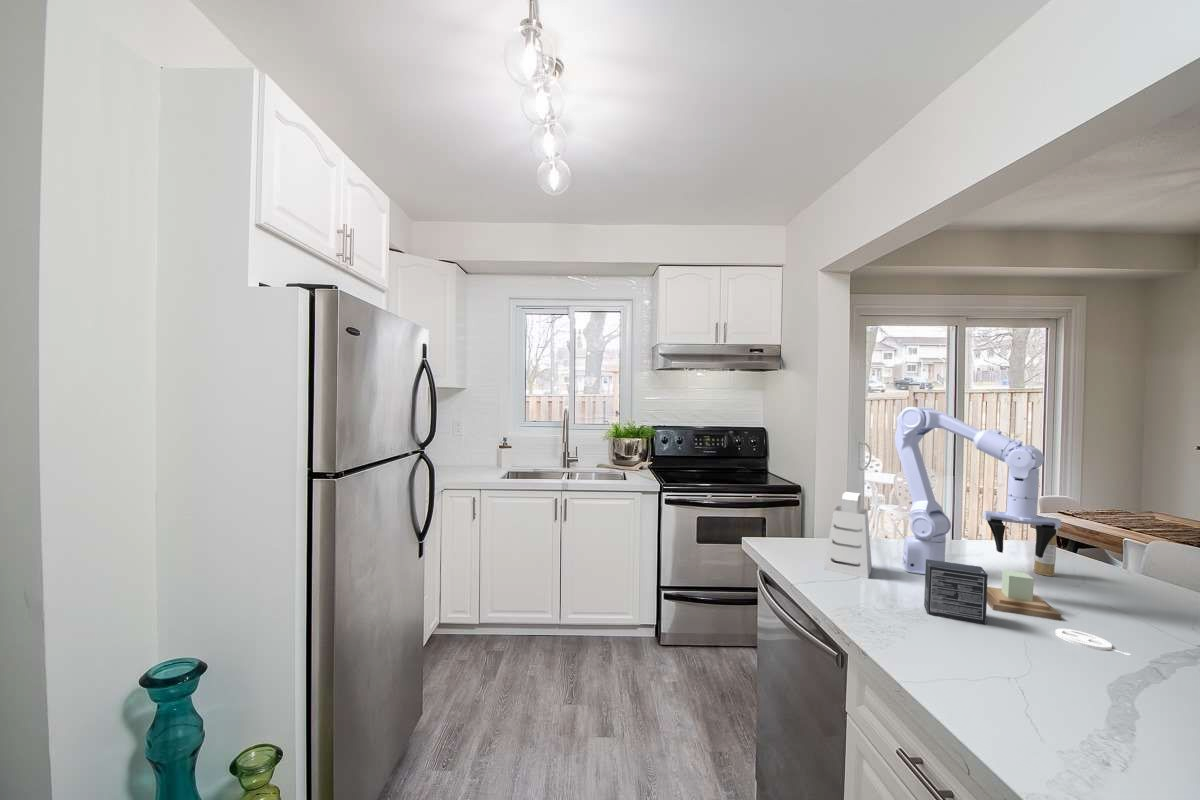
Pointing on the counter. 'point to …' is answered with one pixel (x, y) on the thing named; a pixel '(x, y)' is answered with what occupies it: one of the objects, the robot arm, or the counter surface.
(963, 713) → the counter surface
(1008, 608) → the walnut base
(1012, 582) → the sage block
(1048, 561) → the sprinkles bottle
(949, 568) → the small box
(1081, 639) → the pendant
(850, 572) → the grater
